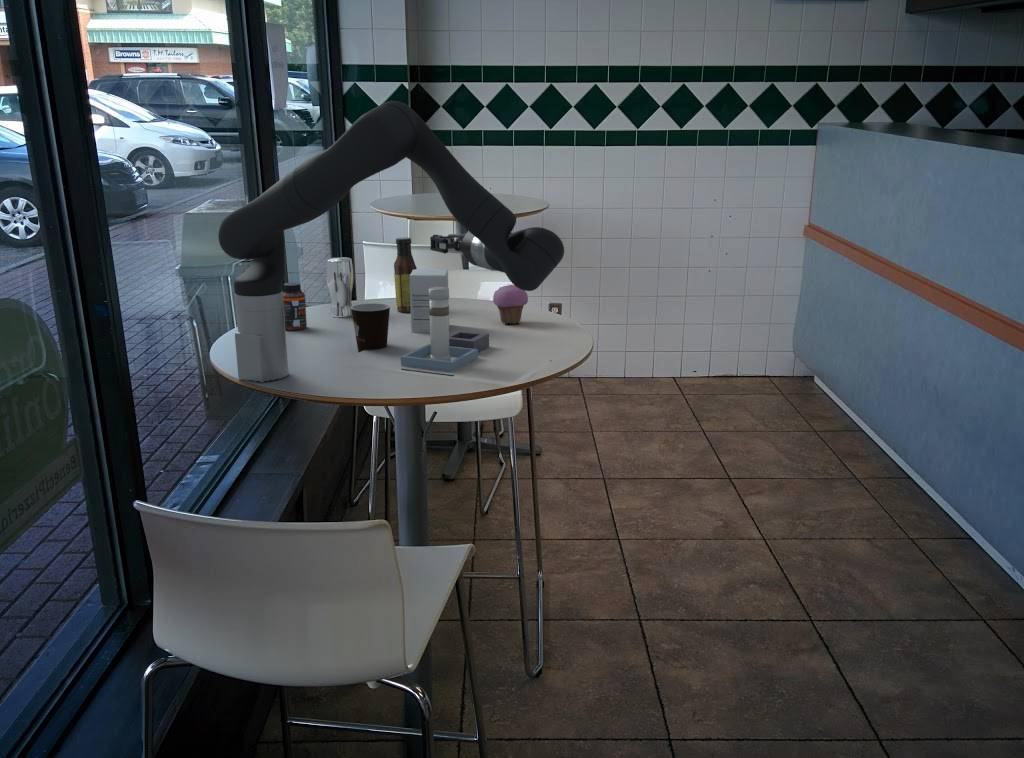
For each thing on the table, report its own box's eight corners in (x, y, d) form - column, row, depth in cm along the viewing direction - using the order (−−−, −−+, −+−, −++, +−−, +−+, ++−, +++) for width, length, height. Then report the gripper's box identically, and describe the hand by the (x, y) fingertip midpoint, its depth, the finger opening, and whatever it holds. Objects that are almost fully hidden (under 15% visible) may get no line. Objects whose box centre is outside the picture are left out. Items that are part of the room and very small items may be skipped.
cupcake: (526, 319, 233) (527, 281, 230) (528, 327, 224) (528, 287, 222) (492, 320, 232) (492, 282, 230) (493, 327, 224) (493, 288, 221)
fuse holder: (478, 359, 193) (478, 341, 192) (436, 354, 197) (435, 337, 196) (494, 351, 201) (493, 334, 199) (452, 346, 205) (452, 329, 203)
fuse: (444, 366, 186) (442, 291, 181) (426, 364, 187) (424, 289, 183) (453, 362, 189) (452, 287, 185) (436, 360, 191) (434, 286, 186)
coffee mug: (390, 355, 197) (388, 310, 195) (351, 355, 197) (348, 311, 194) (393, 342, 208) (391, 300, 206) (356, 343, 208) (354, 300, 205)
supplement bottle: (303, 331, 220) (300, 285, 216) (279, 331, 220) (276, 285, 217) (309, 325, 225) (306, 281, 222) (286, 325, 225) (283, 281, 222)
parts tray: (452, 376, 181) (452, 362, 180) (401, 370, 185) (400, 356, 185) (478, 362, 191) (477, 349, 191) (428, 356, 196) (428, 343, 195)
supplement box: (414, 328, 223) (412, 268, 219) (449, 328, 223) (448, 268, 219) (410, 336, 214) (408, 274, 210) (447, 336, 214) (446, 274, 210)
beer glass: (329, 312, 241) (326, 257, 237) (355, 312, 241) (353, 257, 237) (327, 318, 234) (324, 261, 230) (354, 317, 235) (351, 261, 231)
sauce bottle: (423, 309, 245) (421, 237, 239) (412, 314, 239) (409, 239, 234) (403, 307, 247) (400, 235, 242) (391, 312, 242) (388, 238, 236)
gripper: (525, 225, 163) (487, 218, 177) (454, 228, 156) (420, 220, 170) (525, 266, 165) (487, 256, 179) (454, 271, 158) (420, 260, 172)
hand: (454, 239), depth 174 cm, fingers open, 8 cm apart
